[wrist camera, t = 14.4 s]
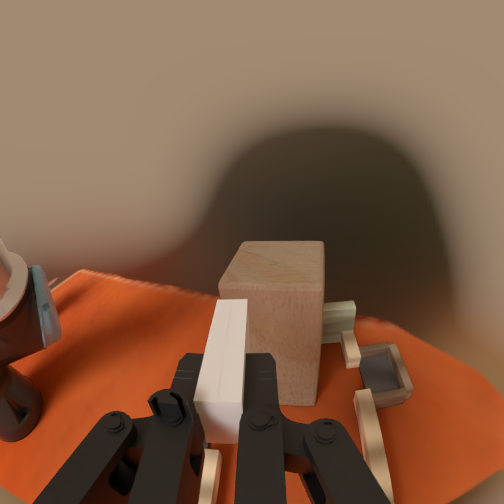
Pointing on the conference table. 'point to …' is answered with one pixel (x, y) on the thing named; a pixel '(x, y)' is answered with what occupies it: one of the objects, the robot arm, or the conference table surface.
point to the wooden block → (283, 309)
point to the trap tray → (365, 401)
